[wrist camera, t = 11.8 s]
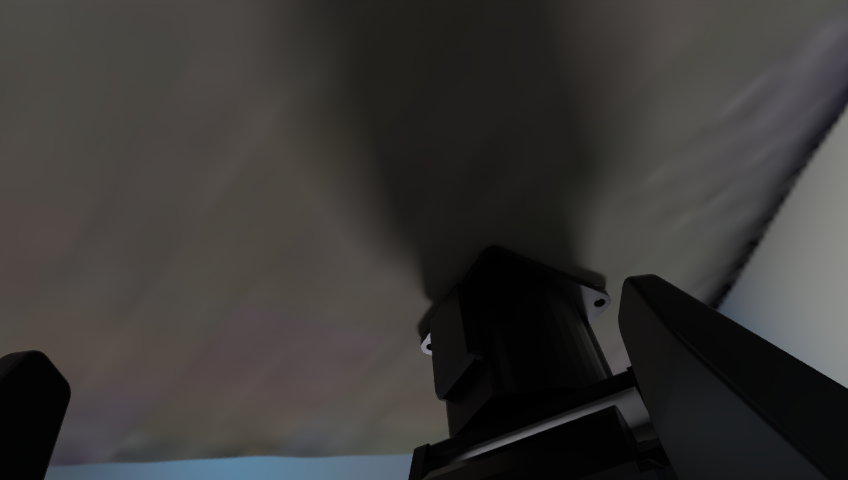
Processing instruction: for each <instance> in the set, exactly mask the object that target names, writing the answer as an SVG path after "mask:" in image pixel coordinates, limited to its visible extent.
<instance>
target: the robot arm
mask: <svg viewBox="0 0 848 480" xmlns="http://www.w3.org/2000/svg"><path fill="white" fill-rule="evenodd" d="M492 257H499V258H498V259H496V260H494V261H491V260H489V259H491V258H492ZM597 299H600V300H598V301H596V300H597ZM610 303H611V299H610V297H609V295H608V293H607V291H606V290H604V289H602V288H600V287H597V286H595V285H592V284H590V283H587V282H585V281H582V280H580V279H577V278H575V277H572V276H570V275H568V274H565V273H563V272H560V271H558V270H555V269H553V268H550V267H548V266H545V265H543V264H540V263H538V262H535V261H533V260H531V259H528V258H526V257H523V256H521V255H518V254H516V253H513V252H511V251H508V250H506V249H503V248H501V247H497V246H491V247H488V248H486V249H485V250H484V251H483V252H482V254H481V255H480V256H479V258H478V259H477V261H476V262H475V263H474V265H473V266H472V268H471V269H470V270H469V272H468V273H467V275H466V276H465V277H464V279H463V280H462V282H459V283H458V284H456V285H455V286H454V287H453V289H452V290H451V291H450V293H449V294H448V296H447V297H446V298H445V300H444V301H443V303H442V304H441V306H440V307H439V308H438V310H437V311H436V313H435V314H434V315H433V317H432V318H431V320H430V321H429V328H428V329H427V331H426V332H425V333H424V335H423V336H422V338H421V350H422V351H423V352H425V353H427V354H430V355H432V361H433V372H434V383H435V393H436V395H437V397H438V399H439V400H441V401H445V402H446V409H447V418H448V427H449V436H450V438H448V439H446V440H443V441H440V442H438V443H435V444H432V445H430V444H425V445H423V446H420V447H417V448H415V449H414V453H413V458H412V463H411V469H410V474H409V479H408V480H848V388H846V387H844V386H842V385H841V384H839V383H837V382H836V381H834V380H832V379H831V378H829V377H827V376H826V375H824V374H822V373H821V372H819V371H817V370H815V369H814V368H812V367H810V366H809V365H807V364H805V363H804V362H802V361H800V360H798V359H797V358H795V357H793V356H792V355H790V354H788V353H787V352H785V351H783V350H782V349H780V348H778V347H777V346H775V345H773V344H772V343H770V342H768V341H767V340H765V339H763V338H761V337H760V336H758V335H757V334H755V333H753V332H751V331H750V330H748V329H746V328H745V327H743V326H741V325H740V324H738V323H736V322H735V321H733V320H731V319H729V318H728V317H726V316H724V315H723V314H721V313H719V312H718V311H716V310H714V309H713V308H711V307H709V306H708V305H706V304H704V303H703V302H701V301H699V300H698V299H696V298H694V297H692V296H691V295H689V294H687V293H686V292H684V291H682V290H681V289H679V288H677V287H676V286H674V285H672V284H671V283H669V282H667V281H665V280H664V279H662V278H660V277H659V276H657V275H654V274H646V275H638V276H630V277H628V278H626V279H625V281H624V283H623V287H622V294H621V301H620V308H619V315H618V323H619V329H620V333H621V336H622V339H623V341H624V344H625V347H626V350H627V353H628V356H629V359H630V362H631V365H632V366H630V367H627V371H625V372H622V373H620V374H617V375H614V376H613V374H612V372H611V369H610V367H609V365H608V363H607V361H606V358H605V356H604V354H603V352H602V350H601V348H600V345H599V343H598V341H597V339H596V337H595V334H594V332H593V330H592V328H591V326H590V325H591V324H592V323H593V322H594V321H595V320H596V319H597V318H598V317H599V316H600V315H601V314H602V313H603V312H604V310H605V309H606V308H607V307H608V306H609V305H610ZM429 343H431V344H429ZM70 397H71V389H70V385H69V383H68V381H67V380H66V379H65V378H64V376H63V375H62V374H61V373H60V372H59V370H58V369H57V368H56V367H55V366H54V364H53V363H52V362H51V361H50V359H49V358H48V357H47V356H46V355H45V354H44V353H42V352H40V351H36V350H31V351H23V352H15V353H11V354H8V355H5V356H4V357H2V358H0V480H44V478H45V475H46V472H47V469H48V466H49V463H50V460H51V457H52V454H53V450H54V447H55V444H56V441H57V438H58V435H59V432H60V429H61V426H62V423H63V420H64V416H65V413H66V410H67V407H68V404H69V401H70Z"/></svg>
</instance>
